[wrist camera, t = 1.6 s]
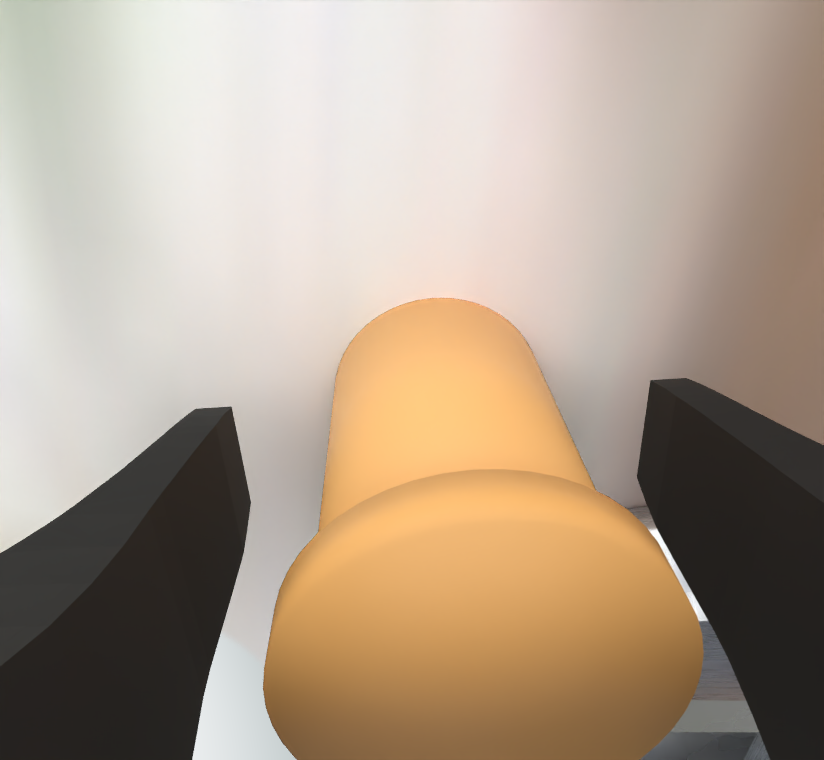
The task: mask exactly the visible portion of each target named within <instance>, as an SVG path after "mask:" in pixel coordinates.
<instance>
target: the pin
mask: <svg viewBox="0 0 824 760" xmlns="http://www.w3.org/2000/svg"><path fill="white" fill-rule="evenodd" d="M703 656H704V651H703V637H702V632H701V628H700V625H699V621H698V617H697V615H696V613H695V611H694V609H693V607H692V605H691V603H690V601H689V599H688V597H687V595H686V593H685V592H684V590H683V588H682V586H681V584H680V582H679V580H678V578H677V577H676V575H675V573H674V571H673V569H672V567H671V565H670V563H669V562H668V560H667V558H666V556H665V554H664V552H663V550H662V548H661V547H660V545H659V543H658V542H657V540H656V539H655V538H654V536H653V535H652V534H651V532H650V531H649V530H648V528H647V527H646V526H645V525H644V524H643V523H642V522H641V521H640V520H639V519H637V518H636V517H635V516H634V515H633V514H632V513H631V512H630V511H629V510H627V509H626V508H624V507H623V506H621V505H620V504H618V503H617V502H615V501H614V500H612V499H611V498H610V497H608V496H606V495H603V494H601V493H599V492H597V491H596V489H595V487H594V485H593V483H592V481H591V478H590V476H589V474H588V472H587V470H586V468H585V465H584V463H583V461H582V459H581V457H580V455H579V452H578V450H577V448H576V446H575V444H574V442H573V439H572V437H571V435H570V433H569V431H568V429H567V426H566V424H565V422H564V420H563V418H562V416H561V413H560V411H559V409H558V407H557V405H556V403H555V400H554V398H553V396H552V394H551V392H550V390H549V387H548V385H547V383H546V381H545V379H544V377H543V374H542V372H541V370H540V368H539V366H538V364H537V361H536V359H535V357H534V355H533V353H532V351H531V349H530V347H529V345H528V343H527V341H526V340H525V339H524V337H523V336H522V335H521V333H520V332H519V331H518V330H517V329H516V328H515V327H514V326H513V325H512V324H511V323H510V322H509V321H508V320H506V319H505V318H504V317H502V316H501V315H500V314H498V313H496V312H494V311H492V310H491V309H489V308H487V307H484V306H482V305H479V304H476V303H473V302H469V301H465V300H460V299H452V298H430V299H422V300H417V301H413V302H409V303H405V304H402V305H400V306H397V307H395V308H392V309H390V310H388V311H387V312H385V313H383V314H381V315H379V316H378V317H377V318H375V319H374V320H372V321H371V322H370V323H368V324H367V325H366V326H365V327H364V328H363V329H362V330H361V331H360V332H359V333H358V334H357V335H356V336H355V338H354V339H353V340H352V341H351V343H350V344H349V346H348V348H347V349H346V351H345V353H344V354H343V357H342V359H341V362H340V364H339V367H338V371H337V375H336V381H335V390H334V398H333V407H332V416H331V425H330V434H329V442H328V451H327V460H326V469H325V478H324V486H323V495H322V504H321V513H320V522H319V530H318V533H317V534H316V535H315V536H314V538H313V539H312V540H311V541H310V542H309V543H308V544H307V545H306V546H305V547H304V549H303V550H302V551H301V552H300V553H299V555H298V556H297V558H296V559H295V561H294V562H293V564H292V565H291V567H290V568H289V570H288V572H287V574H286V576H285V579H284V581H283V583H282V585H281V587H280V590H279V593H278V597H277V601H276V605H275V609H274V615H273V621H272V626H271V632H270V638H269V644H268V650H267V655H266V661H265V667H264V682H263V691H264V698H265V705H266V709H267V712H268V714H269V718H270V720H271V723H272V726H273V727H274V729H275V731H276V732H277V734H278V736H279V738H280V739H281V741H282V743H283V744H284V745H285V746H286V748H287V749H288V750H289V751H290V752H291V753H292V755H293V756H294V757H295V758H296V759H297V760H639V759H641V758H642V757H643V756H645V755H646V754H647V753H648V752H649V751H650V750H652V749H653V748H654V747H655V746H656V745H657V744H659V743H660V742H661V741H662V739H663V738H664V737H665V736H666V735H667V734H668V733H669V732H670V731H671V730H672V729H673V728H674V726H675V725H676V724H677V722H678V721H679V719H680V718H681V717H682V715H683V714H684V712H685V711H686V709H687V707H688V705H689V703H690V702H691V700H692V698H693V696H694V694H695V691H696V688H697V685H698V682H699V679H700V676H701V671H702V664H703Z"/></svg>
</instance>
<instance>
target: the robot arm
mask: <svg viewBox="0 0 824 760" xmlns="http://www.w3.org/2000/svg"><path fill="white" fill-rule="evenodd" d="M637 479H638V481H639V484H640V487H641V490H642V493H643V495H644V498H645V501H646V504H647V506H648V509H649V511H650V514H651V516H652V519H653V521H654V524H655V526H656V528H657V530H658V532H659V533H660V535H661V537H662V539H663V541H664V543H665V545H666V546H667V548H668V550H669V552H670V554H671V555H672V557H673V559H674V561H675V563H676V564H677V566H678V568H679V570H680V572H681V573H682V575H683V577H684V579H685V580H686V582H687V584H688V586H689V588H690V589H691V591H692V593H693V595H694V596H695V598H696V600H697V602H698V604H699V605H700V607H701V609H702V611H703V612H704V614H705V616H706V618H707V620H708V621H709V623H710V625H711V627H712V628H713V630H714V632H715V634H716V636H717V638H718V640H719V642H720V644H721V646H722V648H723V650H724V652H725V654H726V656H727V657H728V660H729V662H730V664H731V666H732V669H733V671H734V673H735V676H736V678H737V680H738V683H739V685H740V687H741V690H742V692H743V694H744V697H745V699H746V701H747V704H748V706H749V708H750V711H751V713H752V715H753V718H754V720H755V723H756V725H757V728H758V730H759V733H760V735H761V738H762V740H763V743H764V745H765V748H766V751H767V753H768V756H769V758H770V760H824V445H822V444H819V443H817V442H815V441H813V440H811V439H809V438H807V437H805V436H803V435H801V434H799V433H796V432H794V431H792V430H790V429H788V428H786V427H784V426H782V425H780V424H778V423H776V422H775V421H773V420H771V419H769V418H767V417H765V416H763V415H761V414H759V413H757V412H755V411H753V410H751V409H749V408H747V407H745V406H743V405H742V404H740V403H738V402H736V401H734V400H732V399H730V398H728V397H726V396H724V395H722V394H720V393H718V392H716V391H714V390H712V389H710V388H708V387H706V386H704V385H701V384H699V383H697V382H694V381H692V380H689V379H687V378H681V379H665V380H651V381H650V388H649V395H648V402H647V409H646V416H645V423H644V431H643V438H642V445H641V452H640V459H639V466H638V473H637ZM250 504H251V501H250V496H249V491H248V486H247V481H246V476H245V471H244V466H243V461H242V456H241V451H240V446H239V441H238V437H237V432H236V427H235V422H234V417H233V412H232V407H218V408H202V409H195V410H193V411H192V412H191V413H189V414H188V415H187V416H185V417H184V418H183V419H182V420H180V421H179V422H178V423H177V424H176V425H174V426H173V427H172V428H171V429H170V430H168V431H167V432H166V433H165V434H164V435H163V436H161V437H160V438H159V439H158V440H157V441H155V442H154V443H153V444H152V445H151V446H150V447H148V448H147V449H146V450H145V451H144V452H142V453H141V454H140V455H139V456H138V457H136V458H135V459H134V460H133V461H132V462H130V463H129V464H128V465H127V466H125V467H124V468H123V469H122V470H121V471H119V472H118V473H117V474H115V475H114V476H113V477H112V478H110V479H109V480H108V481H106V482H105V483H104V484H102V485H101V486H100V487H98V488H97V489H96V490H94V491H93V492H92V493H90V494H89V495H88V496H86V497H85V498H84V499H82V500H81V501H80V502H79V503H77V504H76V505H75V506H73V507H72V508H70V509H69V510H67V511H66V512H65V513H63V514H62V515H60V516H59V517H57V518H56V519H54V520H53V521H51V522H50V523H48V524H47V525H45V526H44V527H42V528H41V529H39V530H38V531H36V532H34V533H33V534H31V535H30V536H28V537H26V538H25V539H23V540H22V541H20V542H18V543H17V544H15V545H14V546H12V547H10V548H9V549H7V550H5V551H3V552H2V553H0V760H192V756H193V751H194V746H195V740H196V735H197V729H198V724H199V718H200V713H201V707H202V701H203V696H204V692H205V688H206V684H207V680H208V675H209V671H210V667H211V664H212V661H213V657H214V654H215V650H216V647H217V644H218V640H219V637H220V633H221V630H222V627H223V623H224V620H225V616H226V613H227V609H228V606H229V603H230V599H231V596H232V592H233V589H234V585H235V582H236V578H237V575H238V571H239V568H240V564H241V560H242V557H243V553H244V547H245V540H246V534H247V527H248V520H249V512H250Z"/></svg>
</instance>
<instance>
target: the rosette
mask: <svg viewBox="0 0 824 760" xmlns="http://www.w3.org/2000/svg"><path fill="white" fill-rule="evenodd" d="M627 510H629V511H630V512H631V513H632V514H633V515H634V516H635V517H636V518H637V519H639V520H640V521H641V522H642V523H643V524H644V525H645V526H646V527H647V528H648V530H649V531H650V532H651V534H652V535H653V536H654V538H655V539H656V540H657V542H658V543H659V545H660V547H661V548H662V550H663V552H664V554H665V556H666V558H667V560H668V562H669V563H670V565H671V567H672V569H673V571H674V573H675V575H676V577H677V578H678V580H679V582H680V584H681V586H682V588H683V590H684V592H685V593H686V595H687V597H688V599H689V601H690V603H691V605H692V607H693V609H694V611H695V613H696V615H697V617H698V621H699V625H700V628H701V632H702V637H703V651H704V656H703V664H702V671H701V676H700V679H699V682H698V685H697V688H696V691H695V694H694V696H693V698H692V700H691V702H690V703H689V705H688V707H687V709H686V711H685V712H684V714H683V715H682V717H681V718H680V719H679V721H678V722H677V724H676V725H675V726H674V728H673V729H672V730H671V731H670V732H669V733H668V734H667V735H666V736H665V737H664V738H663V739H662V741H661V742H660V743H659V744H657V745H656V746H655V747H654V748H653V749H652V750H650V751H649V752H648V753H647V754H646V755H645V756H643V757H642V758H641V759H639V760H770V758H769V756H768V753H767V751H766V748H765V745H764V743H763V740H762V738H761V735H760V733H759V730H758V728H757V725H756V723H755V720H754V718H753V715H752V713H751V711H750V708H749V706H748V704H747V701H746V699H745V697H744V694H743V692H742V690H741V687H740V685H739V683H738V680H737V678H736V676H735V673H734V671H733V669H732V666H731V664H730V662H729V660H728V657H727V656H726V654H725V652H724V650H723V648H722V646H721V644H720V642H719V640H718V638H717V636H716V634H715V632H714V630H713V628H712V627H711V625H710V623H709V621H708V620H707V618H706V616H705V614H704V612H703V611H702V609H701V607H700V605H699V604H698V602H697V600H696V598H695V596H694V595H693V593H692V591H691V589H690V588H689V586H688V584H687V582H686V580H685V579H684V577H683V575H682V573H681V572H680V570H679V568H678V566H677V564H676V563H675V561H674V559H673V557H672V555H671V554H670V552H669V550H668V548H667V546H666V545H665V543H664V541H663V539H662V537H661V535H660V533H659V532H658V530H657V528H656V526H655V524H654V521H653V519H652V516H651V514H650V511H649V509H648V507H641V508H633V509H627Z"/></svg>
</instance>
